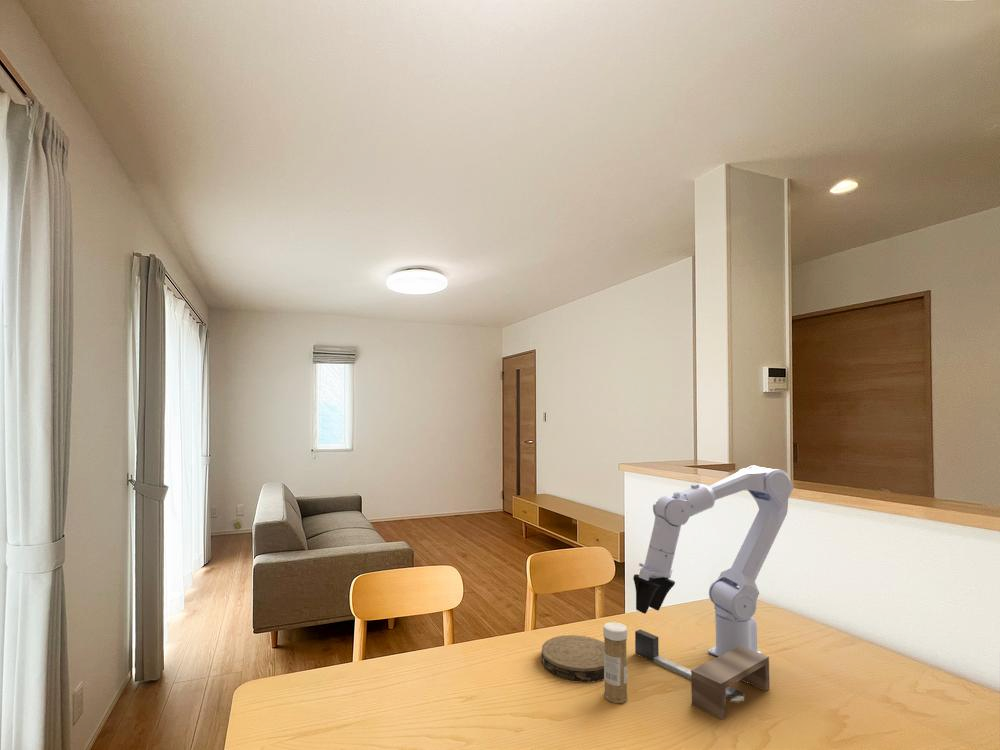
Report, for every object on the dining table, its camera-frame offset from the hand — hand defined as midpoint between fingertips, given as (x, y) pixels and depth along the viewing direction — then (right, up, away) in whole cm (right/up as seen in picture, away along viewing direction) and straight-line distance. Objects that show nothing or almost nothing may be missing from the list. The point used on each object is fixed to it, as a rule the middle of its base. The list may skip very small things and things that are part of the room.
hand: (647, 610), depth 115 cm
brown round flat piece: (-16, -11, -2) cm, 20 cm away
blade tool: (+4, -11, -4) cm, 12 cm away
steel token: (+12, -10, -15) cm, 22 cm away
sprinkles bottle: (-11, -10, -16) cm, 22 cm away
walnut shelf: (+12, -10, -15) cm, 22 cm away
